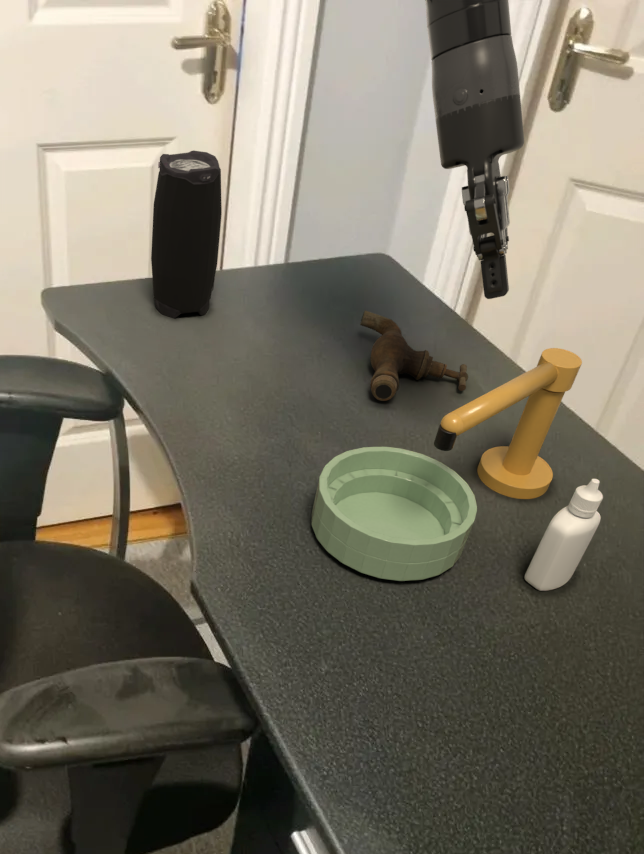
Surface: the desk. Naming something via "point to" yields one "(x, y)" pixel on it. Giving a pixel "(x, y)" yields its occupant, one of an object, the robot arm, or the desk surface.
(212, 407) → the desk surface
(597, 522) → the eye dropper bottle
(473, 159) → the robot arm
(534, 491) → the tap base
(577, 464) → the desk surface
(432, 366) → the faucet
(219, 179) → the portable speaker
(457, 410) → the spout
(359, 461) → the basin
